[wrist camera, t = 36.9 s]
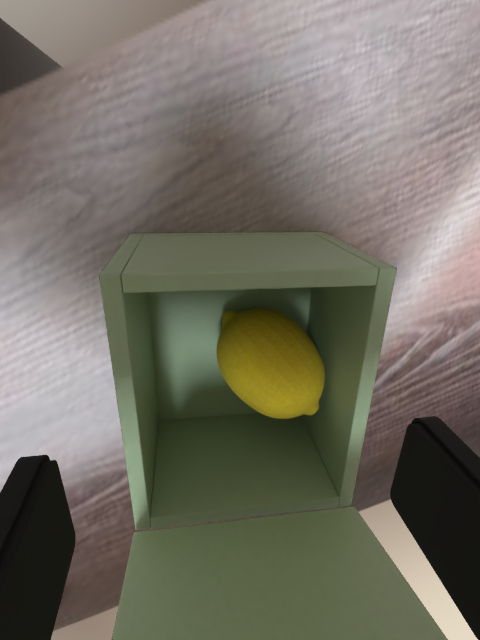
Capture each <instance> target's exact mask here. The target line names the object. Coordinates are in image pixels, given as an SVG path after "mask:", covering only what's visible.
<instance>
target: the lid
mask: <svg viewBox="0 0 480 640" xmlns="http://www.w3.org/2000/svg"><path fill="white" fill-rule="evenodd" d="M112 640H448V639H447V638H446V636H445V635H444V634H443V632H442V631H441V629H440V628H439V627H438V625H437V624H436V622H435V621H434V619H433V618H432V616H431V615H430V614H429V612H428V611H427V609H426V608H425V607H424V605H423V604H422V602H421V601H420V599H419V598H418V597H417V595H416V594H415V592H414V591H413V589H412V588H411V587H410V585H409V584H408V582H407V581H406V579H405V578H404V577H403V575H402V574H401V572H400V571H399V569H398V568H397V567H396V565H395V564H394V562H393V561H392V560H391V558H390V557H389V555H388V554H387V552H386V551H385V549H384V548H383V547H382V545H381V544H380V542H379V541H378V540H377V538H376V537H375V535H374V534H373V532H372V531H371V529H370V528H369V527H368V525H367V524H366V522H365V521H364V520H363V518H362V517H361V515H360V514H359V512H358V511H357V510H356V508H355V507H347V508H338V509H330V510H321V511H313V512H304V513H296V514H287V515H279V516H270V517H261V518H253V519H244V520H236V521H227V522H219V523H210V524H201V525H193V526H184V527H176V528H167V529H159V530H150V531H141V532H134V535H133V540H132V545H131V549H130V554H129V559H128V564H127V569H126V573H125V578H124V583H123V588H122V592H121V597H120V602H119V607H118V612H117V616H116V621H115V626H114V630H113V636H112Z"/></svg>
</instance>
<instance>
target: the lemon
mask: <svg viewBox="0 0 480 640" xmlns="http://www.w3.org/2000/svg"><path fill="white" fill-rule="evenodd" d="M216 353H217V361H218V365H219V368H220V371H221V373H222V375H223V377H224V379H225V381H226V382H227V384H228V385H229V387H230V388H231V389H232V390H233V392H234V393H235V394H236V395H237V396H238V397H239V398H240V399H241V400H242V401H244V402H245V403H246V404H247V405H249V406H250V407H251V408H253V409H254V410H256V411H258V412H259V413H261V414H263V415H265V416H268V417H271V418H277V419H288V418H294V417H298V416H301V415H303V414H305V415H313V414H314V413H316V411H317V410H318V409H319V399H320V397H321V394H322V392H323V388H324V383H325V369H324V364H323V361H322V358H321V356H320V354H319V352H318V350H317V348H316V347H315V345H314V343H313V342H312V340H311V339H310V338H309V336H308V335H307V334H306V333H305V331H304V330H303V329H302V328H301V327H300V326H299V325H298V324H297V323H295V322H294V321H293V320H292V319H290V318H289V317H287V316H286V315H284V314H282V313H280V312H278V311H274V310H271V309H266V308H253V309H249V310H246V311H242V312H240V311H230V310H229V311H227V312H225V313H224V315H223V316H222V331H221V334H220V336H219V339H218V342H217V351H216Z"/></svg>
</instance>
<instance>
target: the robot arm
mask: <svg viewBox="0 0 480 640" xmlns="http://www.w3.org/2000/svg"><path fill="white" fill-rule="evenodd" d="M390 496H391V500H392V503H393V505H394V507H395V508H396V510H397V511H398V513H399V515H400V516H401V518H402V520H403V521H404V523H405V524H406V526H407V528H408V529H409V531H410V532H411V534H412V535H413V537H414V538H415V540H416V542H417V543H418V545H419V546H420V548H421V550H422V551H423V553H424V555H425V556H426V558H427V559H428V561H429V563H430V564H431V566H432V567H433V569H434V571H435V572H436V574H437V575H438V577H439V578H440V580H441V582H442V583H443V585H444V587H445V588H446V590H447V591H448V593H449V595H450V596H451V598H452V599H453V601H454V603H455V604H456V606H457V607H458V609H459V611H460V612H461V614H462V615H463V617H464V619H465V620H466V622H467V623H468V625H469V627H470V628H471V630H472V631H473V633H474V635H475V636H476V637H477V639H478V640H480V458H479V457H478V456H477V455H476V454H475V453H474V452H473V451H472V450H471V449H470V448H469V447H468V446H467V445H466V444H465V443H464V442H463V441H462V440H461V439H460V438H459V437H458V436H457V435H456V434H455V433H454V432H453V431H452V430H451V429H450V428H449V427H448V426H447V425H446V424H445V423H444V422H443V421H442V420H441V419H439V418H438V417H435V416H433V417H423V418H415V419H414V420H413V421H412V423H411V424H409V425H408V427H407V430H406V434H405V438H404V442H403V445H402V449H401V453H400V457H399V461H398V464H397V468H396V472H395V476H394V480H393V483H392V487H391V491H390ZM74 547H75V531H74V527H73V523H72V519H71V515H70V511H69V507H68V503H67V499H66V495H65V491H64V487H63V483H62V479H61V475H60V471H59V467H58V464H57V461H56V460H52V461H50V459H49V457H48V456H47V455H40V456H30V457H21V458H20V459H18V461H17V462H16V464H15V466H14V468H13V470H12V472H11V474H10V475H9V477H8V479H7V481H6V483H5V485H4V487H3V489H2V491H1V493H0V640H51V636H52V632H53V629H54V625H55V621H56V617H57V613H58V609H59V606H60V602H61V598H62V594H63V590H64V586H65V583H66V579H67V575H68V571H69V567H70V563H71V560H72V556H73V552H74Z"/></svg>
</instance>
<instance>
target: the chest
mask: <svg viewBox="0 0 480 640" xmlns="http://www.w3.org/2000/svg"><path fill="white" fill-rule="evenodd" d="M396 270H397V268H396V267H394V266H392V265H390V264H388V263H386V262H384V261H382V260H380V259H378V258H376V257H374V256H371V255H369V254H367V253H365V252H363V251H361V250H359V249H357V248H355V247H353V246H351V245H349V244H347V243H345V242H343V241H341V240H339V239H337V238H335V237H333V236H331V235H329V234H326V233H324V232H258V233H132V234H130V236H129V237H128V238H127V239H126V241H125V242H124V243H123V244H122V246H121V247H120V248H119V250H118V251H117V252H116V253H115V255H114V256H113V257H112V259H111V260H110V261H109V263H108V264H107V265H106V266H105V268H104V269H103V270H102V272H101V273H100V274H99V279H100V286H101V293H102V300H103V307H104V313H105V320H106V327H107V334H108V341H109V348H110V355H111V362H112V369H113V376H114V383H115V390H116V397H117V404H118V411H119V418H120V424H121V431H122V438H123V445H124V452H125V459H126V466H127V473H128V480H129V487H130V494H131V501H132V508H133V515H134V522H135V529H136V530H142V529H150V528H160V527H169V526H177V525H186V524H195V523H203V522H212V521H220V520H229V519H238V518H246V517H255V516H264V515H272V514H281V513H289V512H298V511H307V510H315V509H324V508H332V507H340V506H349V505H351V501H352V496H353V491H354V486H355V481H356V476H357V470H358V465H359V460H360V455H361V450H362V445H363V440H364V434H365V429H366V424H367V419H368V414H369V409H370V404H371V398H372V393H373V388H374V383H375V378H376V373H377V368H378V362H379V357H380V352H381V347H382V342H383V337H384V332H385V326H386V321H387V316H388V311H389V306H390V301H391V296H392V290H393V285H394V280H395V275H396ZM253 308H266V309H271V310H274V311H278V312H280V313H282V314H284V315H286V316H287V317H289V318H290V319H292V320H293V321H294V322H295V323H297V324H298V325H299V326H300V327H301V328H302V329H303V330H304V331H305V333H306V334H307V335H308V336H309V338H310V339H311V340H312V342H313V343H314V345H315V347H316V348H317V350H318V352H319V354H320V356H321V358H322V361H323V364H324V369H325V383H324V388H323V392H322V394H321V397H320V399H319V409H318V410H317V411H316V413H314V414H313V415H305V414H303V415H301V416H298V417H294V418H288V419H277V418H271V417H268V416H265V415H263V414H261V413H259V412H258V411H256V410H254V409H253V408H251V407H250V406H249V405H247V404H246V403H245V402H244V401H242V400H241V399H240V398H239V397H238V396H237V395H236V394H235V393H234V392H233V390H232V389H231V388H230V387H229V385H228V384H227V382H226V381H225V379H224V377H223V375H222V373H221V371H220V368H219V365H218V361H217V353H216V351H217V342H218V339H219V336H220V334H221V331H222V316H223V315H224V313H225V312H227V311H229V310H230V311H240V312H242V311H246V310H249V309H253Z"/></svg>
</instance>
